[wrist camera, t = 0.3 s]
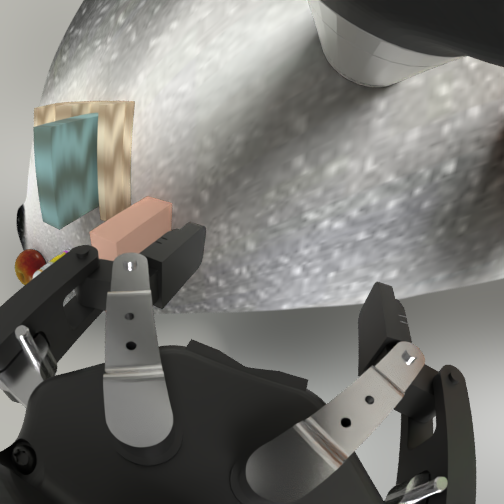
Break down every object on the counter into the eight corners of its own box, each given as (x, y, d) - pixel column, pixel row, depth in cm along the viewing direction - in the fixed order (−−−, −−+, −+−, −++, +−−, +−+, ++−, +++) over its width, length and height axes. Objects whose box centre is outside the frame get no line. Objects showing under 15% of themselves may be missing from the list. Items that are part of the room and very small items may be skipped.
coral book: (147, 196, 34) (89, 231, 25) (172, 203, 34) (116, 243, 25) (148, 267, 41) (105, 311, 32) (170, 276, 40) (128, 324, 31)
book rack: (57, 102, 31) (-1, 117, 21) (134, 101, 28) (61, 112, 18) (59, 185, 39) (9, 212, 29) (130, 207, 36) (72, 245, 27)
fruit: (55, 267, 52) (32, 285, 45) (50, 282, 57) (30, 299, 50) (33, 237, 50) (10, 253, 43) (30, 254, 55) (9, 270, 48)
